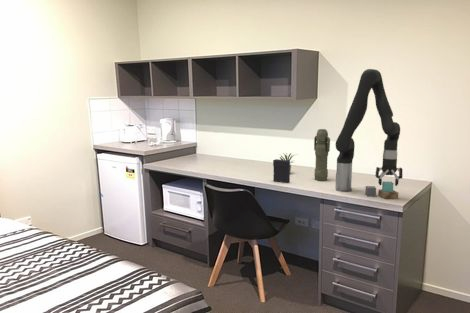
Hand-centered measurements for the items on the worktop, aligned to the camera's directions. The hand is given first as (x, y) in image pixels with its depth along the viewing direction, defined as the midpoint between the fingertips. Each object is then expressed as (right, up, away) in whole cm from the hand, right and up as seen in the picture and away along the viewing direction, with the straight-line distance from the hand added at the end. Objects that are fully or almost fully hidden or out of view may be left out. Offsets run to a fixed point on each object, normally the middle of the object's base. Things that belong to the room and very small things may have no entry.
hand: (388, 185), depth 222 cm
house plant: (-48, +4, +68) cm, 84 cm away
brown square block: (0, -7, +1) cm, 7 cm away
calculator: (-56, -1, +42) cm, 70 cm away
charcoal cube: (-8, -6, +5) cm, 12 cm away
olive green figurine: (-28, 0, +46) cm, 54 cm away
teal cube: (0, -3, +1) cm, 3 cm away
